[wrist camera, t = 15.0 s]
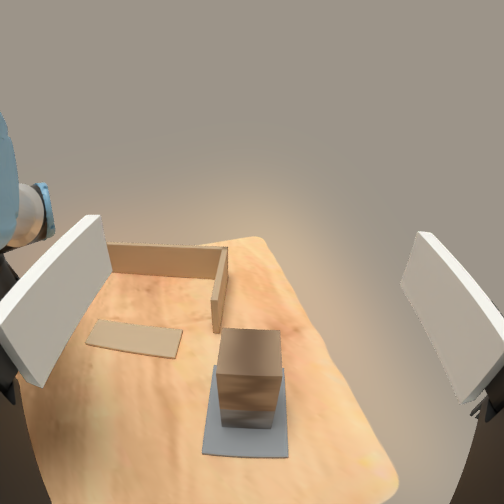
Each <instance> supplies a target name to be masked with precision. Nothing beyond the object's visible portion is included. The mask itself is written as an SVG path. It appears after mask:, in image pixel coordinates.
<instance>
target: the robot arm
mask: <svg viewBox="0 0 504 504" xmlns="http://www.w3.org/2000/svg"><path fill="white" fill-rule="evenodd" d="M7 131H8V129H7V125H6V122H5V120H4V118H3V116H2V114H1V112H0V504H52V503H51V500H50V498H49V495H48V493H47V490H46V488H45V485H44V482H43V480H42V477H41V474H40V471H39V468H38V465H37V462H36V459H35V455H34V452H33V448H32V445H31V441H30V437H29V433H28V429H27V424H26V420H25V415H24V410H23V405H22V399H21V393H20V386H19V383H18V380H17V379H16V377H15V376H16V374H17V372H18V371H19V372H20V374H21V375H22V376H23V378H24V379H25V380H26V382H28V383H30V384H33V385H35V386H38V387H40V388H43V387H44V385H45V383H46V381H47V379H48V377H49V375H50V373H51V371H52V369H53V367H54V365H55V364H56V362H57V360H58V358H59V356H60V354H61V353H62V351H63V349H64V347H65V346H66V344H67V342H68V340H69V339H70V337H71V335H72V333H73V332H74V330H75V328H76V327H77V325H78V323H79V322H80V320H81V319H82V317H83V315H84V314H85V312H86V310H87V309H88V307H89V306H90V304H91V303H92V301H93V300H94V298H95V296H96V295H97V293H98V292H99V290H100V289H101V287H102V286H103V284H104V283H105V281H106V280H107V278H108V277H109V276H110V274H111V273H112V271H113V270H112V266H111V262H110V258H109V253H108V249H107V244H106V240H105V235H104V230H103V225H102V219H101V215H86V216H85V217H83V218H82V219H81V220H80V221H79V222H78V223H77V224H75V225H74V226H73V227H72V228H71V229H70V230H69V231H68V232H67V233H66V234H64V235H63V236H62V237H61V238H60V239H59V240H58V241H57V242H56V243H55V244H54V245H53V246H52V247H51V248H50V249H49V250H48V251H47V252H46V253H45V254H44V255H43V256H42V257H41V258H40V259H39V260H38V261H37V262H36V263H35V264H34V265H33V266H32V267H31V268H30V269H29V270H28V271H27V272H26V273H25V274H24V275H23V276H22V277H21V278H19V277H18V275H17V274H16V273H15V272H14V270H13V269H12V268H11V266H10V265H9V264H8V262H7V261H6V260H5V257H4V255H3V253H6V252H8V251H11V250H14V249H17V248H20V247H23V246H26V245H29V244H32V243H35V242H38V241H41V240H46V239H47V238H50V237H52V236H53V235H54V234H55V225H54V219H53V213H52V207H51V202H50V196H49V192H48V186H47V185H46V184H45V183H35V184H34V185H33V186H28V185H25V184H19V182H18V173H17V166H16V160H15V154H14V150H13V145H12V141H11V138H10V137H8V132H7ZM400 286H401V288H402V290H403V291H404V293H405V295H406V296H407V298H408V300H409V302H410V304H411V305H412V307H413V309H414V311H415V313H416V314H417V316H418V318H419V320H420V322H421V323H422V325H423V327H424V329H425V331H426V333H427V335H428V337H429V339H430V340H431V343H432V345H433V347H434V348H435V351H436V353H437V355H438V357H439V359H440V361H441V363H442V366H443V368H444V370H445V372H446V374H447V376H448V379H449V381H450V383H451V386H452V388H453V390H454V392H455V395H456V397H457V400H458V402H459V405H461V404H464V403H467V402H471V401H473V400H475V399H476V398H477V397H478V396H479V395H480V394H481V392H483V390H484V389H485V390H486V392H487V396H486V397H485V398H484V399H483V400H482V401H481V402H480V403H479V404H478V405H477V406H476V407H475V408H474V409H473V410H472V412H471V414H470V416H473V415H474V414H475V413H476V412H477V411H478V410H480V413H479V414H478V415H477V416H476V417H475V418H477V419H478V423H477V427H476V431H475V434H474V438H473V442H472V445H471V448H470V452H469V455H468V458H467V461H466V464H465V467H464V470H463V472H462V475H461V478H460V480H459V483H458V485H457V488H456V490H455V493H454V495H453V497H452V500H451V502H450V504H504V317H503V315H502V314H501V313H500V312H499V310H498V308H497V307H496V306H495V304H494V303H493V302H492V301H491V300H490V299H489V298H488V297H487V295H486V294H485V293H484V292H483V290H482V289H481V288H480V287H479V285H478V284H477V283H476V282H475V280H474V279H473V278H472V277H471V276H470V275H469V273H468V272H467V271H466V270H465V269H464V268H463V266H462V265H461V264H460V263H459V262H458V261H457V260H456V259H455V257H454V256H453V255H452V254H451V253H450V252H449V251H448V250H447V249H446V248H445V247H444V245H443V244H442V243H441V242H440V241H439V240H438V239H437V238H436V237H435V236H434V235H433V234H432V233H429V232H420V231H419V232H417V235H416V238H415V241H414V244H413V248H412V251H411V254H410V257H409V260H408V263H407V266H406V269H405V271H404V274H403V277H402V280H401V282H400Z"/></svg>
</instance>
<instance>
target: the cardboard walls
mask: <svg viewBox="0 0 504 504" xmlns="http://www.w3.org/2000/svg"><path fill="white" fill-rule="evenodd" d="M106 244H107V249H108V253H109V258H110V262H111V266H112V270H113V271H112V272H116V273H128V274H142V275H156V276H171V277H187V278H204V279H215V283H214V287H213V292H212V296H211V311H212V325H213V333H219V332H220V325H221V319H222V312H223V306H224V300H225V293H226V287H227V281H228V247H217V246H192V245H168V244H142V243H118V242H106ZM182 332H183V330H181V329H171V328H161V327H152V326H144V325H136V324H128V323H121V322H114V321H108V320H101V319H98V320H97V322H96V324H95V326H94V327H93V329H92V331H91V333H90V335H89V336H88V338H87V340H86V342H85V344H86V345H91V346H96V347H101V348H106V349H111V350H117V351H122V352H128V353H134V354H141V355H148V356H155V357H162V358H170V359H175V358H176V354H177V351H178V347H179V343H180V340H181V336H182Z"/></svg>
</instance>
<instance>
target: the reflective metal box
mask: <svg viewBox="0 0 504 504" xmlns="http://www.w3.org/2000/svg"><path fill="white" fill-rule="evenodd" d="M282 377H283V374H282V355H281V338H280V330H255V329H235V328H222V335H221V342H220V349H219V355H218V362H217V369H216V379H217V389H218V398H219V407H220V416H221V424H222V427H229V428H246V429H271V427H272V423H273V419H274V414H275V410H276V405H277V401H278V396H279V391H280V387H281V382H282Z"/></svg>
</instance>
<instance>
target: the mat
mask: <svg viewBox="0 0 504 504" xmlns="http://www.w3.org/2000/svg"><path fill="white" fill-rule="evenodd" d="M216 369H217V365H214V368H213V375H212V382H211V389H210V396H209V403H208V410H207V417H206V425H205V432H204V440H203V447H202V454H205V455H215V456H227V457H244V458H288V437H287V416H286V397H285V379H284V368H282V374H283V377H282V382H281V387H280V391H279V396H278V401H277V405H276V410H275V414H274V419H273V423H272V427H271V429H246V428H229V427H222V424H221V416H220V407H219V398H218V389H217V379H216Z"/></svg>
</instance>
